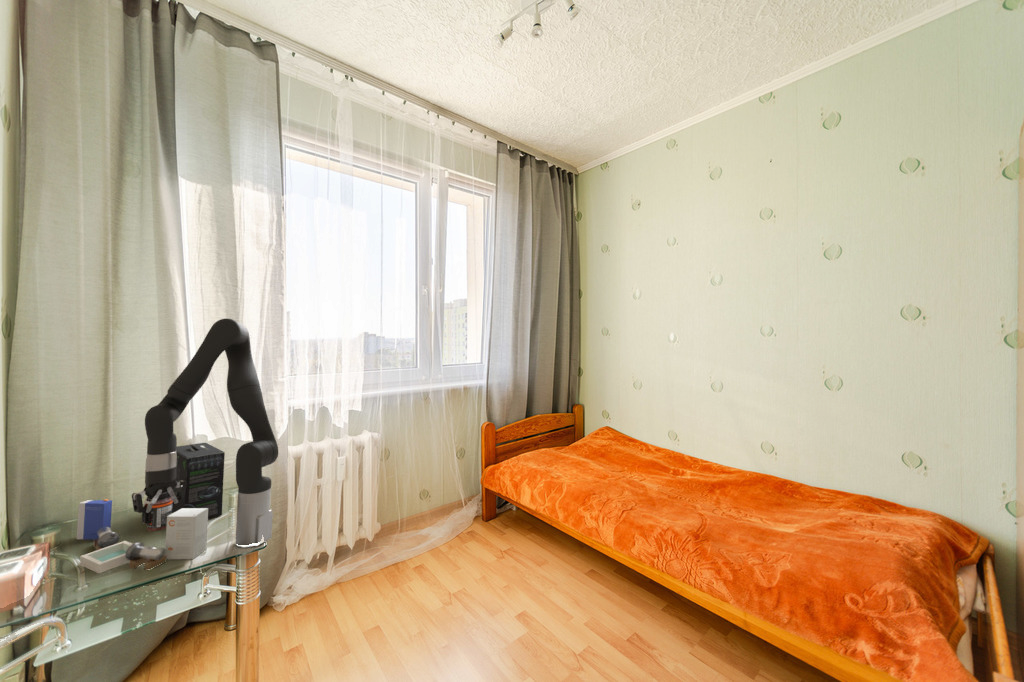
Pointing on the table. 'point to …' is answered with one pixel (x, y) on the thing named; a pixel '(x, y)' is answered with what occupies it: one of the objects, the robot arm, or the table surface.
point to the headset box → (201, 477)
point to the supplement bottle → (160, 512)
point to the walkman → (93, 517)
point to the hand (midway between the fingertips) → (159, 519)
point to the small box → (186, 533)
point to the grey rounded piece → (145, 555)
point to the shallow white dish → (106, 557)
